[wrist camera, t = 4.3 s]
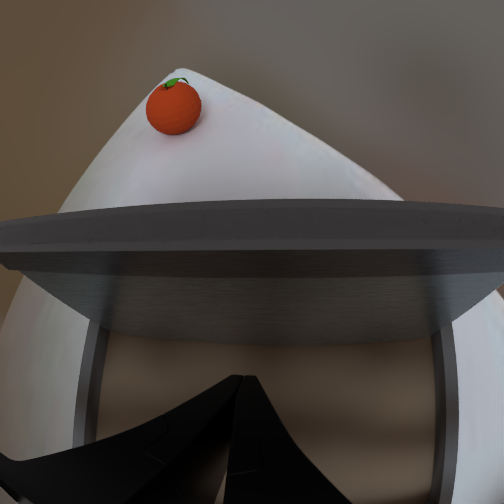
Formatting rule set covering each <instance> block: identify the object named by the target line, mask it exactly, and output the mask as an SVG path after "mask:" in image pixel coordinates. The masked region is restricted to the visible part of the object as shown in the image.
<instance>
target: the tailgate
mask: <svg viewBox="0 0 504 504" xmlns="http://www.w3.org/2000/svg"><path fill="white" fill-rule="evenodd" d="M0 264H2V265H3V266H4V267H5V268H7V269H8V270H18V271H20V272H21V273H22V274H24V275H25V276H26V277H28V278H29V279H30V280H32V281H33V282H34V283H36V284H37V285H39V286H40V287H41V288H43V289H44V290H46V291H47V292H48V293H50V294H51V295H53V296H54V297H56V298H57V299H59V300H60V301H62V302H63V303H65V304H66V305H68V306H69V307H71V308H72V309H74V310H75V311H77V312H79V313H80V314H82V315H83V316H85V317H87V318H88V319H90V320H91V321H93V322H95V323H96V324H98V325H100V326H102V327H103V328H105V329H107V330H108V331H110V332H112V333H119V334H126V335H134V336H142V337H151V338H160V339H170V340H181V341H193V342H208V343H225V344H248V345H334V344H357V343H374V342H387V341H399V340H410V339H419V338H428V337H430V336H431V335H433V334H434V333H436V332H437V331H439V330H441V329H442V328H444V327H445V326H447V325H448V324H450V323H451V322H452V321H454V320H455V319H457V318H458V317H460V316H461V315H462V314H464V313H465V312H467V311H468V310H469V309H471V308H472V307H473V306H475V305H476V304H477V303H479V302H480V301H481V300H483V299H484V298H485V297H486V296H488V295H489V294H490V293H492V292H493V291H494V290H495V289H496V288H498V287H499V286H500V285H501V284H502V283H504V208H496V207H486V206H485V207H484V206H474V205H461V204H447V203H433V202H432V203H431V202H415V201H393V200H360V199H261V200H228V201H204V202H185V203H168V204H154V205H140V206H128V207H116V208H105V209H95V210H85V211H76V212H67V213H59V214H52V215H43V216H35V217H29V218H21V219H14V220H8V221H2V222H0Z"/></svg>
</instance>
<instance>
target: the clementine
mask: <svg viewBox="0 0 504 504" xmlns="http://www.w3.org/2000/svg"><path fill="white" fill-rule="evenodd" d="M179 79H183V80H185V81H186V82H187V83H188V81H187V80H186V79H185V78H174V79H171V80H169V81H167V82H166V83H164V84H162V85H160V86H158V87H157V88H156V89H155V90H154V91H153V92H152V94H151V95H150V96H149V99H148V101H147V104H146V115H147V119H148V121H149V122H150V124H151V125H152V126H153V127H154V128H155V129H156V130H157V131H159V132H162V133H164V134H180V133H183V132H185V131H187V130H188V129H190V128H191V127H192V126H193V125H194V124H195V123H196V121H197V119H198V118H199V116H200V112H201V100H200V98H199V95H198V93H197V92H196V91H195V89H194V88H193V87H191V86H190V85H188V84H189V83H188V84H186V83H183V82H178V80H179Z"/></svg>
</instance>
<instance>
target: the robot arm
mask: <svg viewBox="0 0 504 504" xmlns="http://www.w3.org/2000/svg"><path fill="white" fill-rule="evenodd" d="M226 470H227V475H226V482H225V491H224V499H223V504H353V503H352V502H350V501H349V500H348V499H347V498H346V497H345V496H344V495H343V494H342V493H341V492H340V491H339V490H338V489H337V488H336V487H335V486H334V485H333V484H332V483H331V482H330V481H329V480H328V479H327V477H326V476H325V475H324V474H323V473H322V472H321V471H320V470H319V469H318V468H317V467H316V466H315V465H314V464H313V463H312V462H311V460H310V459H309V458H308V457H307V456H306V455H305V454H304V453H303V452H302V450H301V449H300V448H299V447H298V445H297V444H296V443H295V441H294V440H293V438H292V437H291V435H290V434H289V432H288V431H287V429H286V427H285V426H284V424H283V423H282V421H281V419H280V417H279V415H278V414H277V412H276V410H275V408H274V407H273V405H272V403H271V401H270V399H269V398H268V396H267V394H266V392H265V390H264V389H263V387H262V385H261V383H260V381H259V379H258V378H257V376H255V375H245V376H243V375H236V374H232V375H230V376H228V377H227V378H225V379H223V380H222V381H220V382H218V383H217V384H215V385H213V386H212V387H210V388H208V389H207V390H205V391H203V392H201V393H200V394H198V395H196V396H195V397H193V398H191V399H189V400H188V401H186V402H184V403H182V404H180V405H179V406H177V407H175V408H173V409H171V410H170V411H168V412H166V413H164V414H161V415H159V416H157V417H156V418H154V419H152V420H149V421H147V422H145V423H143V424H141V425H139V426H136V427H134V428H131V429H129V430H126V431H124V432H121V433H118V434H115V435H113V436H110V437H107V438H104V439H101V440H98V441H95V442H92V443H89V444H85V445H82V446H79V447H76V448H72V449H69V450H65V451H62V452H58V453H54V454H50V455H46V456H42V457H38V458H34V459H29V460H25V461H14V460H11V459H9V458H7V457H6V456H5V455H3V454H2V453H1V452H0V486H1V487H2V488H3V489H4V490H5V491H6V492H7V493H8V494H9V495H10V496H11V497H12V498H13V499H14V500H15V501H16V502H17V503H16V504H214V503H215V500H216V498H217V495H218V492H219V490H220V487H221V484H222V481H223V479H224V476H225V473H226Z"/></svg>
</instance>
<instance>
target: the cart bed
mask: <svg viewBox="0 0 504 504" xmlns="http://www.w3.org/2000/svg"><path fill="white" fill-rule="evenodd" d="M232 374H236V375H243V376H245V375H255V376H257V378H258V379H259V381H260V383H261V385H262V387H263V389H264V390H265V392H266V394H267V396H268V398H269V399H270V401H271V403H272V405H273V407H274V408H275V410H276V412H277V414H278V415H279V417H280V419H281V421H282V423H283V424H284V426H285V427H286V429H287V431H288V432H289V434H290V435H291V437H292V438H293V440H294V441H295V443H296V444H297V445H298V447H299V448H300V449H301V450H302V452H303V453H304V454H305V455H306V456H307V457H308V458H309V459H310V460H311V462H312V463H313V464H314V465H315V466H316V467H317V468H318V469H319V470H320V471H321V472H322V473H323V474H324V475H325V476H326V477H327V479H328V480H329V481H330V482H331V483H332V484H333V485H334V486H335V487H336V488H337V489H338V490H339V491H340V492H341V493H342V494H343V495H344V496H345V497H346V498H347V499H348V500H349V501H350V502H352V503H353V504H451V501H452V495H453V489H454V482H455V473H456V463H457V451H458V429H459V400H458V378H457V364H456V354H455V345H454V337H453V329H452V322H451V323H450V324H448V325H447V326H445V327H444V328H442V329H441V330H439V331H437V332H436V333H434V334H433V335H431V336H430V337H428V338H419V339H410V340H399V341H387V342H374V343H357V344H334V345H248V344H225V343H208V342H193V341H181V340H170V339H160V338H151V337H142V336H134V335H126V334H119V333H112V332H110V331H108V330H107V329H105V328H103V327H102V326H100V325H98V324H96V323H95V322H93V321H91V320H90V321H89V326H88V331H87V336H86V341H85V346H84V351H83V357H82V363H81V369H80V375H79V382H78V390H77V398H76V407H75V417H74V430H73V448H76V447H79V446H82V445H85V444H89V443H92V442H95V441H98V440H101V439H104V438H107V437H110V436H113V435H115V434H118V433H121V432H124V431H126V430H129V429H131V428H134V427H136V426H139V425H141V424H143V423H145V422H147V421H149V420H152V419H154V418H156V417H157V416H159V415H161V414H164V413H166V412H168V411H170V410H171V409H173V408H175V407H177V406H179V405H180V404H182V403H184V402H186V401H188V400H189V399H191V398H193V397H195V396H196V395H198V394H200V393H201V392H203V391H205V390H207V389H208V388H210V387H212V386H213V385H215V384H217V383H218V382H220V381H222V380H223V379H225V378H227V377H228V376H230V375H232ZM226 475H227V470H226V473H225V476H224V479H223V481H222V484H221V487H220V490H219V492H218V495H217V498H216V500H215V503H214V504H223V499H224V491H225V482H226Z"/></svg>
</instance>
